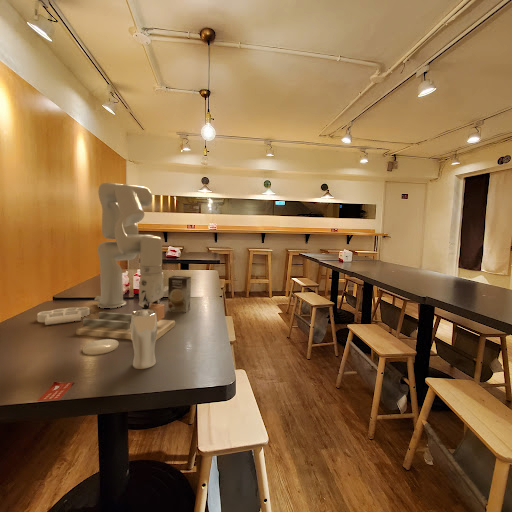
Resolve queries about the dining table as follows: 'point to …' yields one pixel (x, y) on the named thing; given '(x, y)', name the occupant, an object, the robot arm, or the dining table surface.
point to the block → (158, 310)
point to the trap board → (117, 326)
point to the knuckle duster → (62, 315)
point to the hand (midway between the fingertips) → (151, 317)
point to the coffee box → (179, 293)
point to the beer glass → (143, 337)
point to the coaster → (100, 347)
